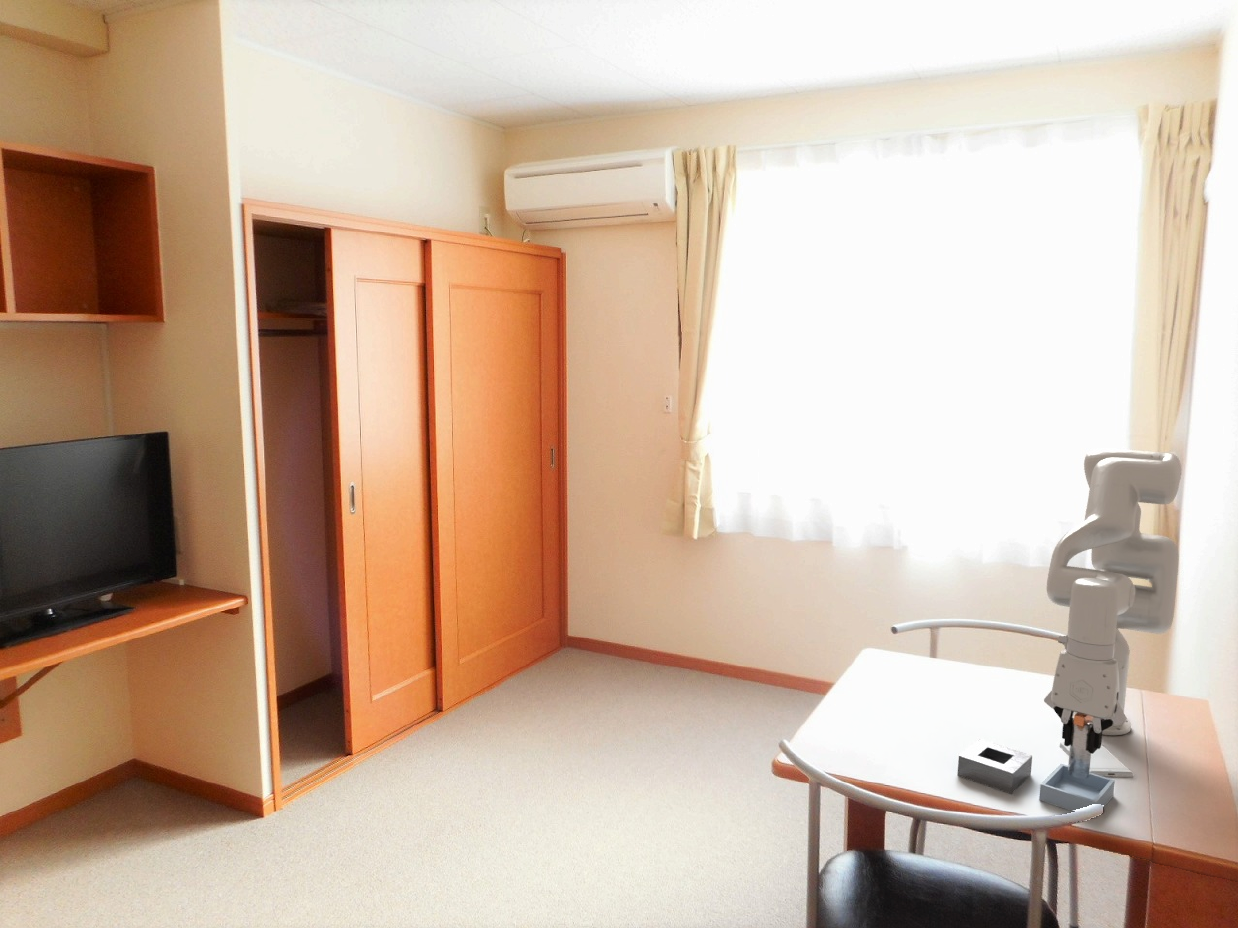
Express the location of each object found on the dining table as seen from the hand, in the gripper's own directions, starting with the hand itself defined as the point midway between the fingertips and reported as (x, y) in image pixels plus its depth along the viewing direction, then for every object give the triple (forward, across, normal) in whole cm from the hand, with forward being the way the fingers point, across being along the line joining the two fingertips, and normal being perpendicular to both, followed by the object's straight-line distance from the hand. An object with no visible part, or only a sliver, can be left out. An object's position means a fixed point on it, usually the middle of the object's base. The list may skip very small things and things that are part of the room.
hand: (1080, 746), depth 162 cm
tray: (+10, 0, 0) cm, 10 cm away
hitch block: (+10, -14, -2) cm, 17 cm away
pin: (+5, 0, 0) cm, 5 cm away
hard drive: (+11, -2, +19) cm, 22 cm away
